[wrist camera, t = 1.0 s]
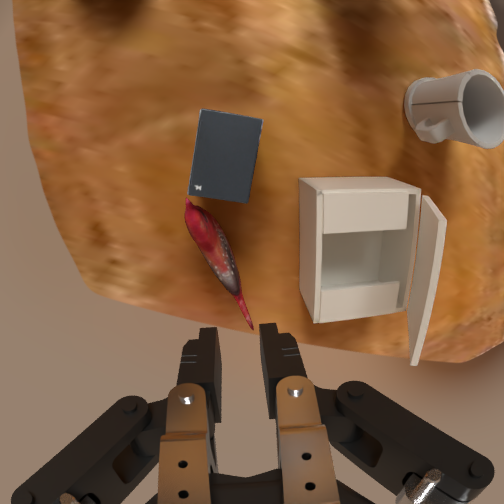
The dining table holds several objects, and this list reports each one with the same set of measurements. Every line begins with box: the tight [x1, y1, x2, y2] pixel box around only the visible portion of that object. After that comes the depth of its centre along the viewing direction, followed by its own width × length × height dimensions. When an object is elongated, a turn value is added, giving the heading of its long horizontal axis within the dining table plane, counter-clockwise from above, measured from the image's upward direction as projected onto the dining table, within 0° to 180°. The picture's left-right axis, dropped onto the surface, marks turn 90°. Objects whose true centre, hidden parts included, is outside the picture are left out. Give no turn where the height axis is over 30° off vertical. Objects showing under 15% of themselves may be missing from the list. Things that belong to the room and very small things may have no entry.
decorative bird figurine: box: [185, 198, 254, 330], centre depth 36 cm, size 3×18×10 cm, turn 22°
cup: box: [404, 69, 504, 149], centre depth 30 cm, size 10×9×12 cm
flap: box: [407, 195, 447, 366], centre depth 28 cm, size 1×14×10 cm, turn 2°
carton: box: [299, 177, 421, 323], centre depth 37 cm, size 12×15×9 cm
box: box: [187, 109, 263, 204], centre depth 32 cm, size 8×6×11 cm
